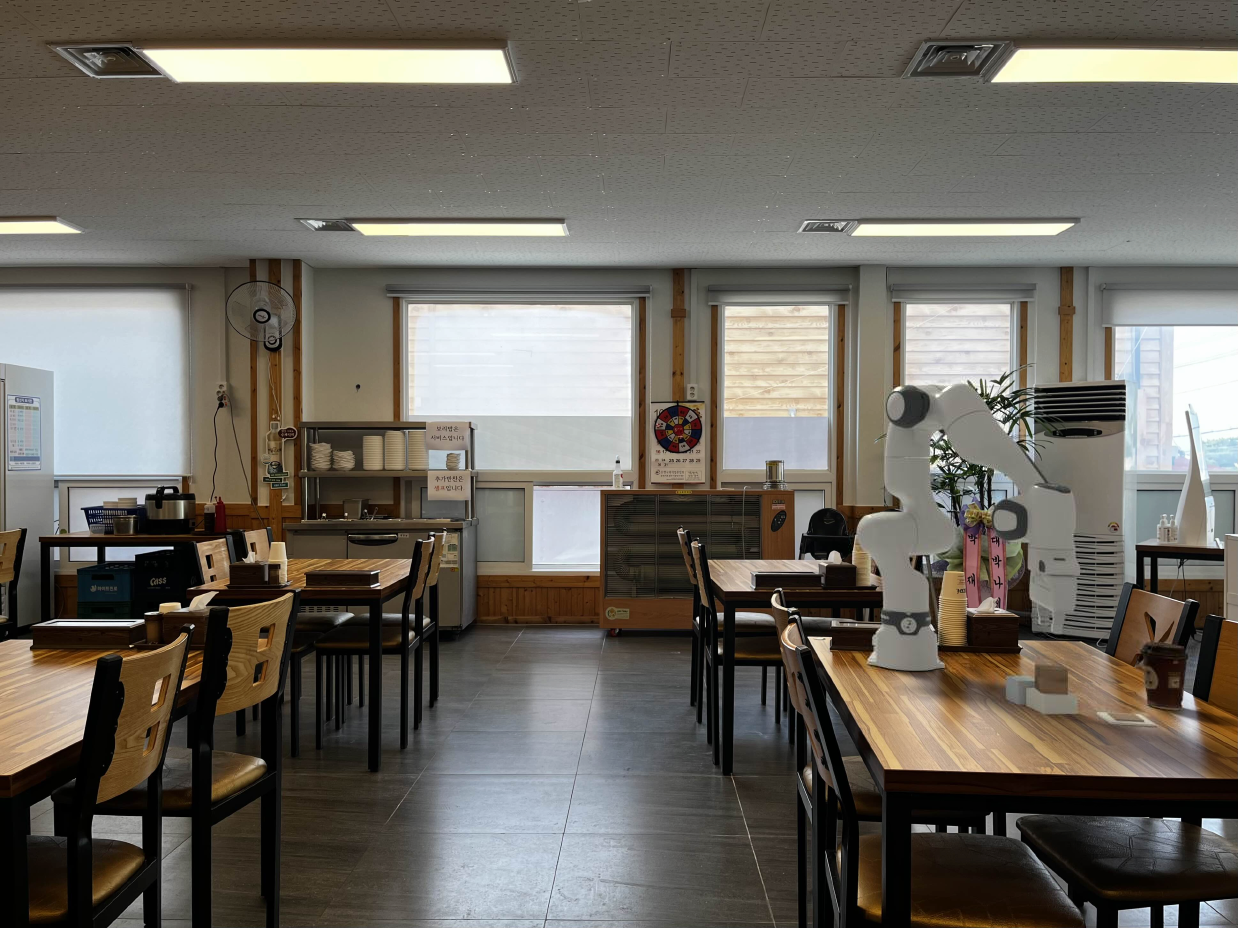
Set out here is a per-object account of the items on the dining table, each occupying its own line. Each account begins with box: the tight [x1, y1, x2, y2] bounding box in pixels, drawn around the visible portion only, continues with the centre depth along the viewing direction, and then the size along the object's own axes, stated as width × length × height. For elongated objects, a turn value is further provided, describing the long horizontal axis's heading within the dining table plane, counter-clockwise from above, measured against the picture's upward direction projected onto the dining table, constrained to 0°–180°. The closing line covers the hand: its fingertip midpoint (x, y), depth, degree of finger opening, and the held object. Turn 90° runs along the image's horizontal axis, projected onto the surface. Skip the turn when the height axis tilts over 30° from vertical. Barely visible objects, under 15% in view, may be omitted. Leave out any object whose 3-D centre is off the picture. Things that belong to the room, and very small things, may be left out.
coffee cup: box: [1139, 641, 1190, 711], centre depth 190 cm, size 9×8×13 cm
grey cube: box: [1005, 675, 1035, 706], centre depth 193 cm, size 5×5×5 cm
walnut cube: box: [1034, 663, 1069, 695], centre depth 186 cm, size 5×5×5 cm
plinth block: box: [1026, 688, 1079, 715], centre depth 186 cm, size 7×7×4 cm
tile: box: [1096, 711, 1157, 727], centre depth 178 cm, size 8×8×1 cm
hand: (1050, 629), depth 187 cm, fingers open, 8 cm apart
